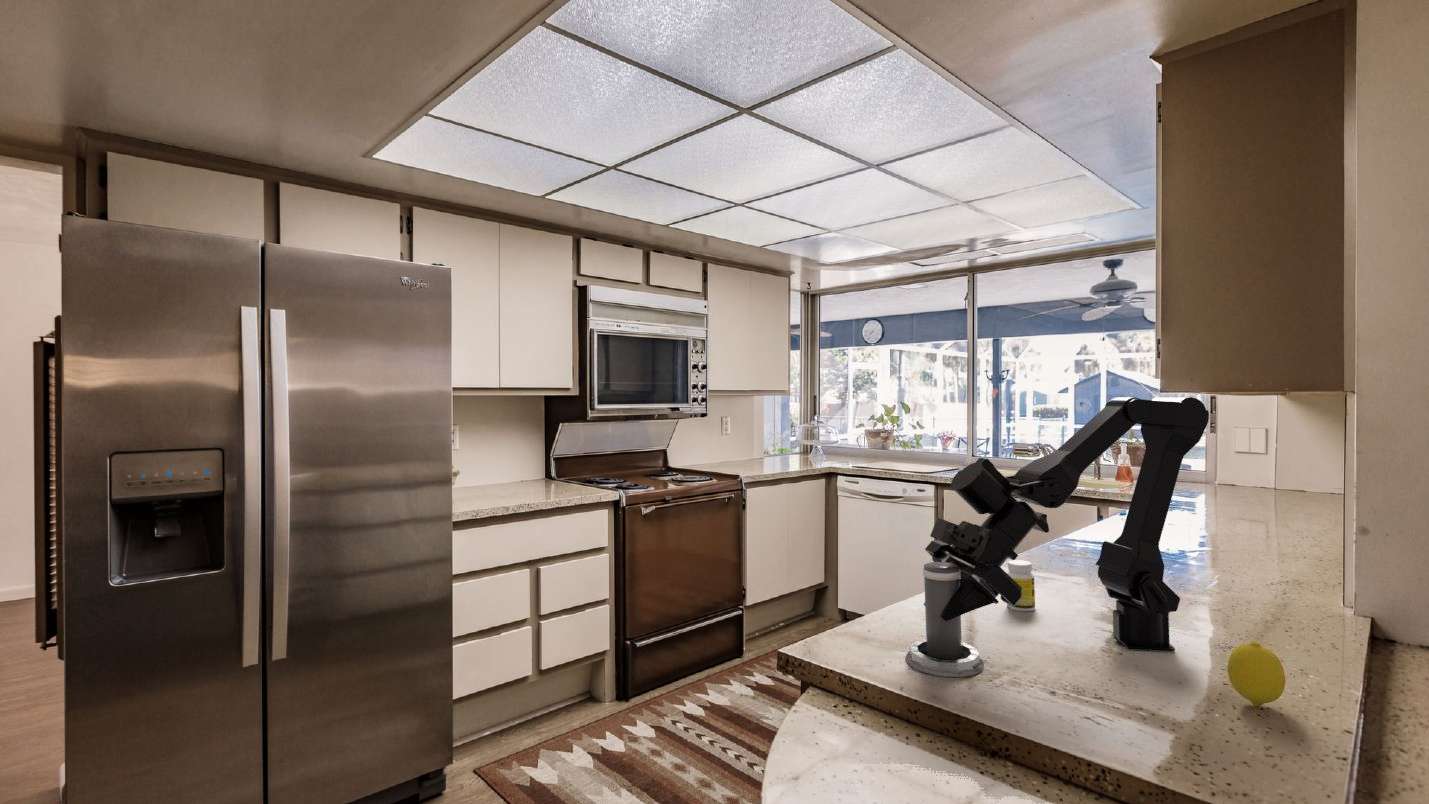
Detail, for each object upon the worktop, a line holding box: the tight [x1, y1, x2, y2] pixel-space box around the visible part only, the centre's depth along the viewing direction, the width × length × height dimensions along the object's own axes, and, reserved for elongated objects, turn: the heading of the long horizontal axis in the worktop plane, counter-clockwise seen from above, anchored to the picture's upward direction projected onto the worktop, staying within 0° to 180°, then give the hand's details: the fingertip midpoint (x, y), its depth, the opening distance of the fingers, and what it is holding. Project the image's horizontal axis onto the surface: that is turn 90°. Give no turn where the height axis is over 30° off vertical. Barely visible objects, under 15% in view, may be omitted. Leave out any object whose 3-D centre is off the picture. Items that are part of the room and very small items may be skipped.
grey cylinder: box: [922, 561, 963, 660], centre depth 98 cm, size 5×5×14 cm
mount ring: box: [905, 638, 985, 679], centre depth 98 cm, size 11×11×2 cm
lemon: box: [1227, 641, 1286, 707], centre depth 82 cm, size 6×6×8 cm
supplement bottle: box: [1006, 559, 1036, 612], centre depth 121 cm, size 5×5×8 cm
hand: (934, 613), depth 98 cm, fingers closed on grey cylinder, 5 cm apart
